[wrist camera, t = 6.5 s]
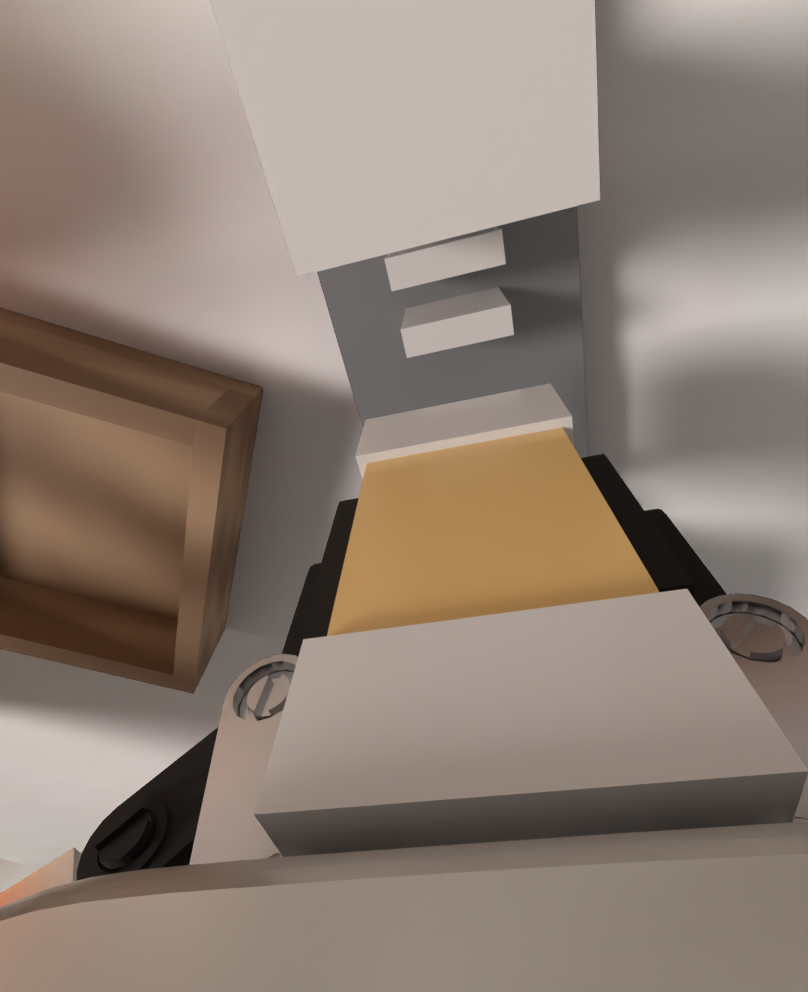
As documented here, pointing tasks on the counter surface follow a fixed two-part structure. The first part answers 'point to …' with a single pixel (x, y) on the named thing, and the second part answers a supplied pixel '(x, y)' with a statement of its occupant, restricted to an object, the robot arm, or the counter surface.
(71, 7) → the counter surface
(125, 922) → the robot arm
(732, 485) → the counter surface
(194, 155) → the counter surface
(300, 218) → the block
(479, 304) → the fuse holder
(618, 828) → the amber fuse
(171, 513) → the walnut tray
